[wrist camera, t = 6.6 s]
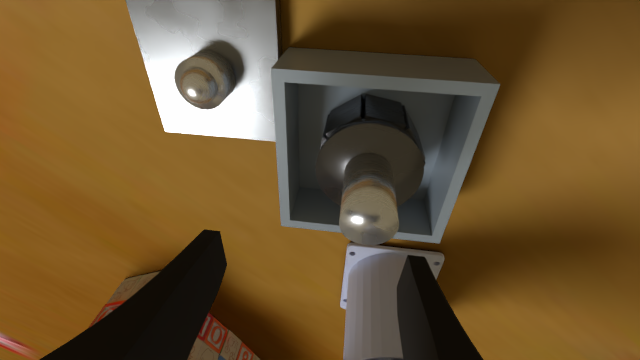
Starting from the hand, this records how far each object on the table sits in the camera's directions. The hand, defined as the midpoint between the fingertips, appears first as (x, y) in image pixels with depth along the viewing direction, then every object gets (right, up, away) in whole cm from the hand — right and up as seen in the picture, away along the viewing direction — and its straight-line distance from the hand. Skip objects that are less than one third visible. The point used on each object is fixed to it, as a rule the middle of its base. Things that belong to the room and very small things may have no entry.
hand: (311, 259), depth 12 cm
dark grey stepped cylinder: (+3, +6, +8) cm, 10 cm away
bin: (+4, +6, +8) cm, 11 cm away
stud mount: (-6, +10, +7) cm, 13 cm away
